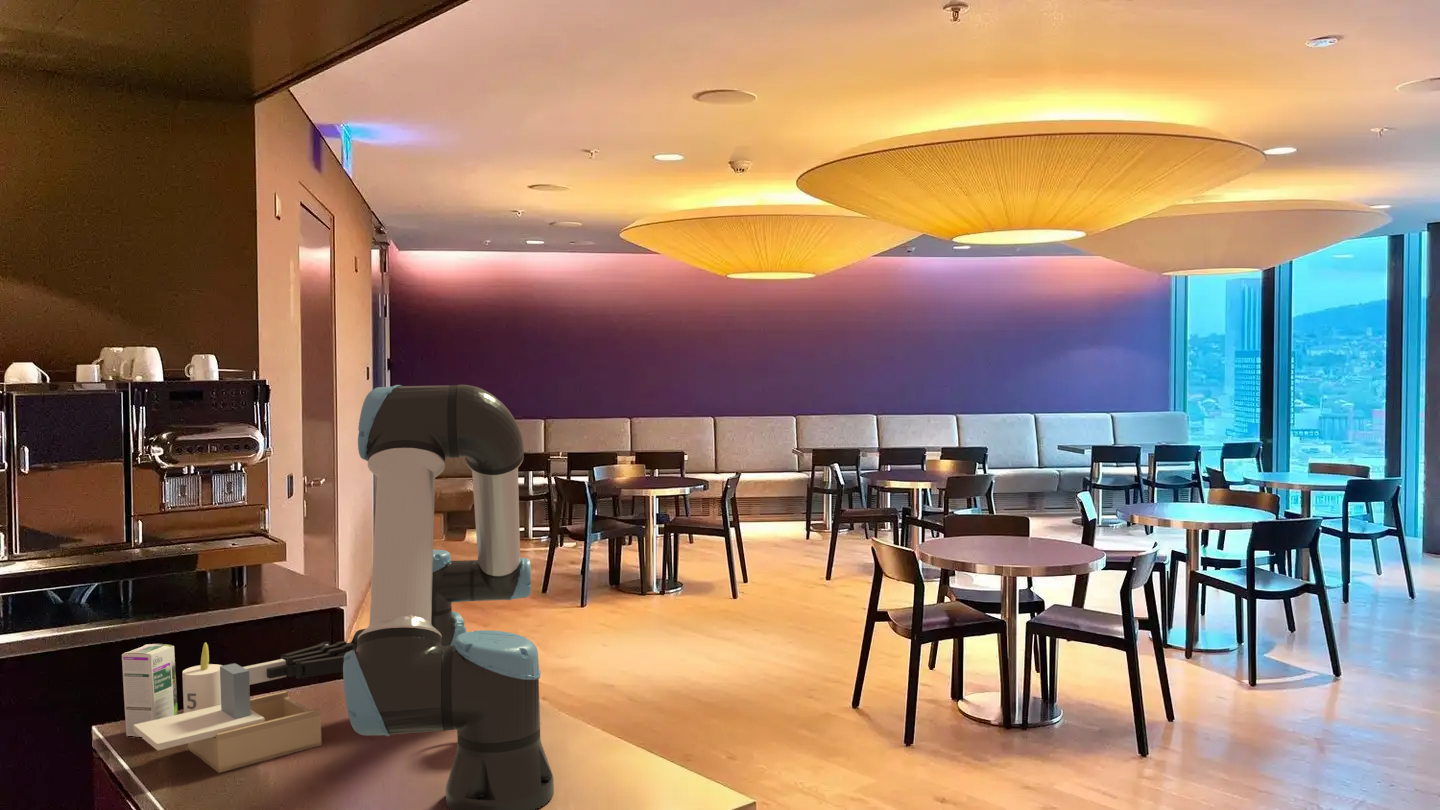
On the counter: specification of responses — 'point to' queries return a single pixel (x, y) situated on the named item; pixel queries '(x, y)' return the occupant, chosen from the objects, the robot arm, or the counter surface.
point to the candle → (201, 684)
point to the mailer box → (263, 735)
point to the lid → (206, 714)
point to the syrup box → (149, 684)
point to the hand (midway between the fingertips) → (244, 676)
